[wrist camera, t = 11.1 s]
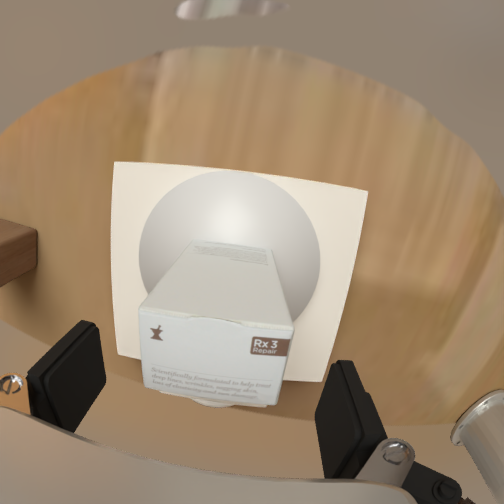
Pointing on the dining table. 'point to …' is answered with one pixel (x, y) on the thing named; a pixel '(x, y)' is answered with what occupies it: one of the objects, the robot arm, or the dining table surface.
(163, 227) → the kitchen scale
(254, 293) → the skincare box
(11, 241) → the wooden block
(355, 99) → the dining table surface
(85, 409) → the robot arm
